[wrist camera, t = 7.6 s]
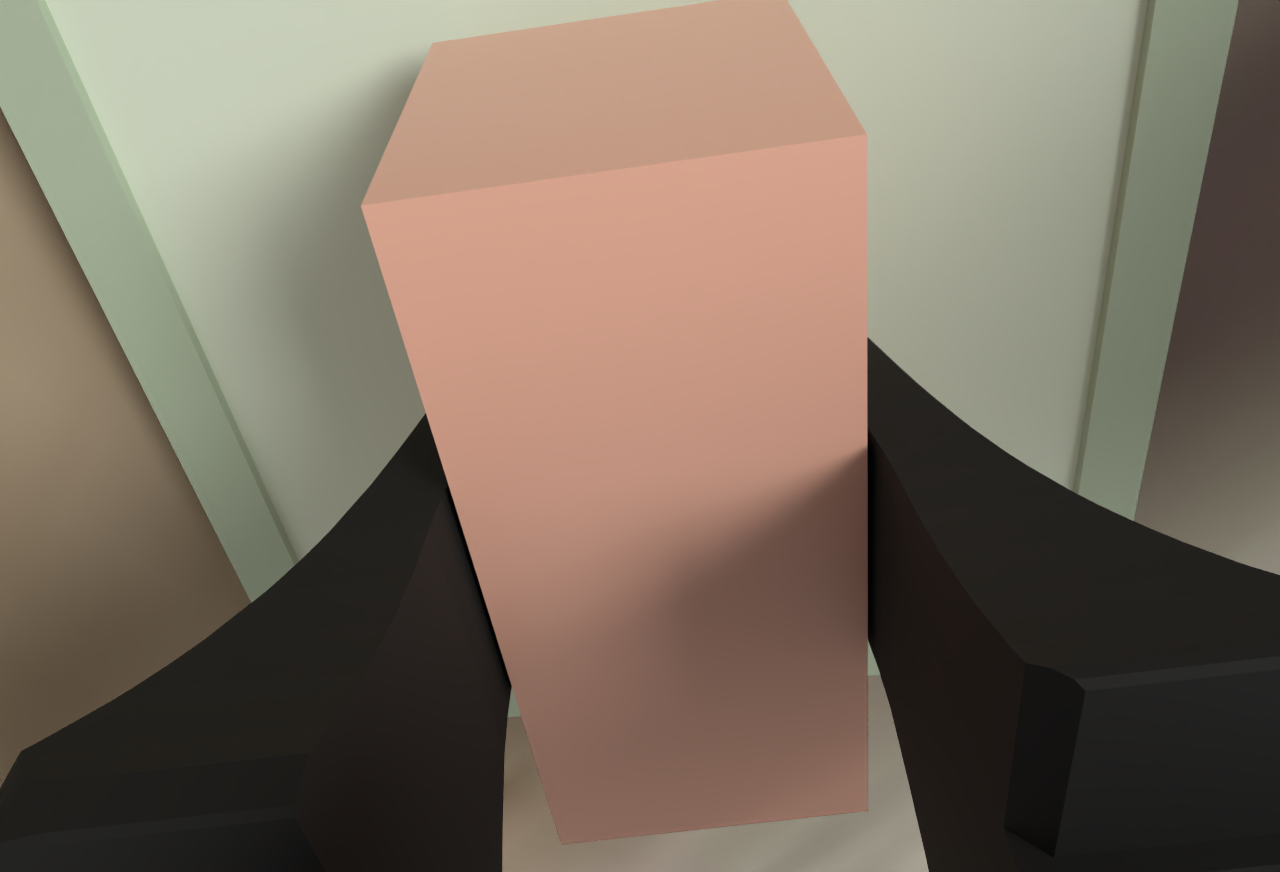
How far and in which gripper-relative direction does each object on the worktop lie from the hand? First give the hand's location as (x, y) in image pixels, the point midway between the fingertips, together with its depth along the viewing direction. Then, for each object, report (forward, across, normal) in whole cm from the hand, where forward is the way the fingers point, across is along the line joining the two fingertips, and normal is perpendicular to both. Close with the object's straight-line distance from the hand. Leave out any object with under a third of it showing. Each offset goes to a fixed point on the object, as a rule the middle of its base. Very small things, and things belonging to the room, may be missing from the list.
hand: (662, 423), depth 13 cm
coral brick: (+2, 0, 0) cm, 2 cm away
